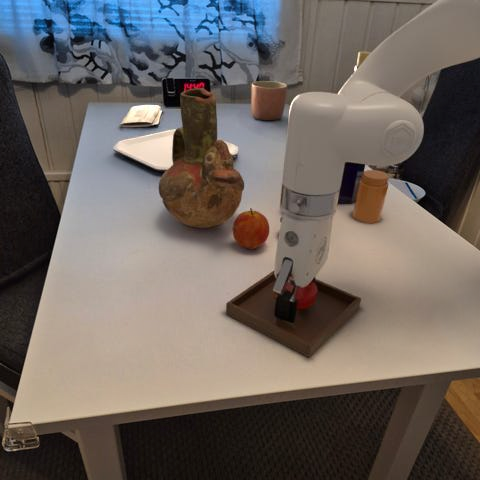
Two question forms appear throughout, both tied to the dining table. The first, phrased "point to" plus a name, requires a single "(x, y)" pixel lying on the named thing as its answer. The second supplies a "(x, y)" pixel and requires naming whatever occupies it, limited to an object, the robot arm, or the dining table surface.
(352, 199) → the bottle
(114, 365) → the dining table surface
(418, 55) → the robot arm
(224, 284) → the dining table surface
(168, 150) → the plate
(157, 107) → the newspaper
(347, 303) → the tray
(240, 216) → the fruit
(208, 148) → the ceramic vessel
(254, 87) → the planter
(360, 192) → the jar
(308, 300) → the jar lid
